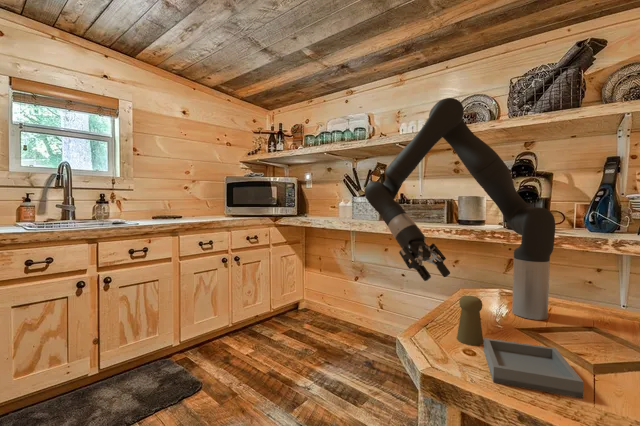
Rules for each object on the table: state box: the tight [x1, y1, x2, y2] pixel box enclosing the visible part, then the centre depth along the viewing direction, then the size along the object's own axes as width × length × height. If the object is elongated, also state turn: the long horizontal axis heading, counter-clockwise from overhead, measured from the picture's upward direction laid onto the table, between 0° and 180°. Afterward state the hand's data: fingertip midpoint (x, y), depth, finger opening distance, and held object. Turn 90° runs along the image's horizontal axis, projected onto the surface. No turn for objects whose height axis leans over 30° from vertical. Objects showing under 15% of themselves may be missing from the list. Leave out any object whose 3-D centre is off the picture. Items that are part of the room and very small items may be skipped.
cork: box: [456, 295, 484, 347], centre depth 79 cm, size 6×6×11 cm
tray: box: [483, 337, 585, 400], centre depth 65 cm, size 14×14×3 cm
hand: (438, 277), depth 87 cm, fingers open, 8 cm apart
